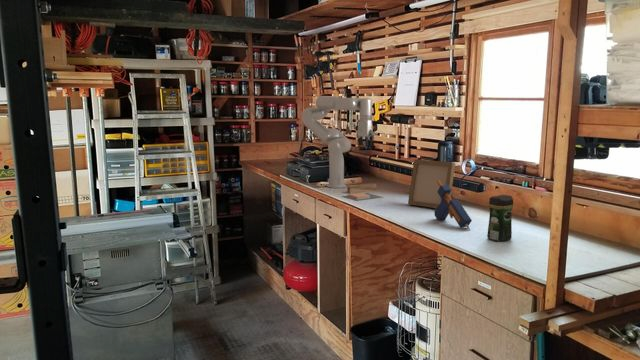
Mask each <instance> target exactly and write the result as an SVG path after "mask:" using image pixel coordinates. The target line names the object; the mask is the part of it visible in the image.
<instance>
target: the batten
mask: <svg viewBox="0 0 640 360" xmlns="http://www.w3.org/2000/svg"><path fill="white" fill-rule="evenodd" d="M346 187H347V190H346V191H347V194H354V193H369V192H376V191H377V183H365V184H356V185H348V186H347V185H346Z"/></svg>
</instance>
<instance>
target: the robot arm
mask: <svg viewBox="0 0 640 360" xmlns="http://www.w3.org/2000/svg"><path fill="white" fill-rule="evenodd" d="M315 106H316V107H315ZM315 106H314V107H307V108H304V110H303V111H302V113H301V120H302V123H303V124H304V126H305V127H306V128H307V129H308V130H309V131H310V132H311V133H312V134H313V135H315V137H316V138H318V139H319V140H320V141H321V142H322V143H324V144H327V145H328V146H327V147H328V148H327V149H328V156H329V162H328V163H329V170H328V171H329V173H328V174H329V179H327V182H328V183H327V184H326V186H327V187H328V188H333V189H343V188H346V187H347V184H345V180H344V179H345V160H344V155H343V154H344V153H347V152H349V151H350V150H351V147H352V143H351V141H350V139H349V138H348V137H347V136H345V135H344V134H343V133H342V132H341V131H340V130H339V129H337V128H334V127H332V128H330V127H329V128H328V127H326V126H325V125H324V124H323V123H322V122H320V120H323V119H324V118H326V116H327V115H328V114H329V113H330V112H331V111H335V110H336V111H338V110H340V111H359V120H358V125H357V131H356V136H357V139H358V142H357V143H358V144H357V145H358V146H364V137H365V138H367V147H371V148H372V147H373V141H374V139H375V135H376V134H375V132H374V131H373V127H374V126H373V99H372V98H369V97H367V98H366V97H362V98H361V97H340V96H337V95H336V96H333V95H331V96H330V95H329V96H328V95H321V96H318V97H317V98H316V100H315Z"/></svg>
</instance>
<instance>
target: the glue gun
mask: <svg viewBox="0 0 640 360" xmlns="http://www.w3.org/2000/svg"><path fill="white" fill-rule="evenodd" d="M437 183H438V185H439V186H440V188H439V190H438V191H437V192H438V194H439V196H440V197H441V203H440V204H439V206H438V207H437V208H435V210H434V217H435V219H436V220H437V221H444V220H447V218H448V216H449V217H450V219H454V220H455V222H456V223H457V224H458V226H459V228H467V229H468V230H469V231H471V229H470V224H471V222H472V218H471V217H470V215H469V213H467V211H466V210H465V208H464V207H463V204H462V203H461V202H460V200H459V199H452V197H451V198H450V196H449V194H450V192H451V189H450V187H449V186H448V185H442V184H441V182H440V181H437ZM451 193H452V192H451Z"/></svg>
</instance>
